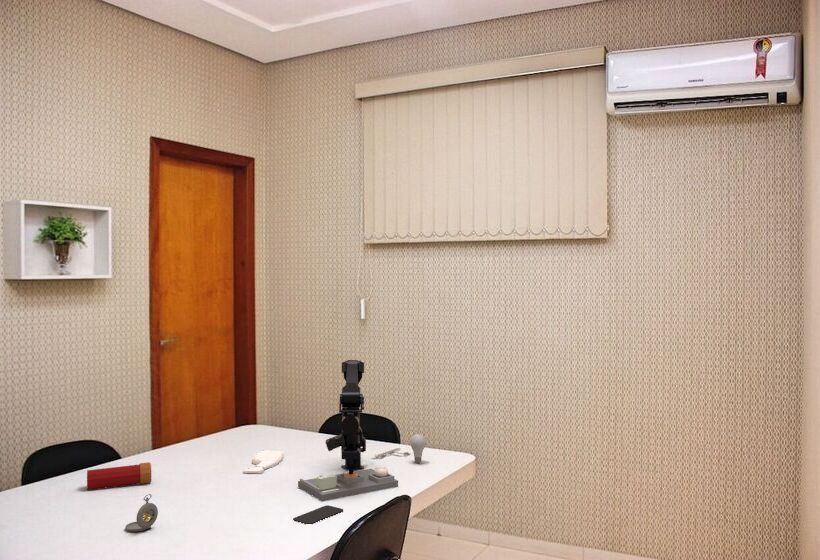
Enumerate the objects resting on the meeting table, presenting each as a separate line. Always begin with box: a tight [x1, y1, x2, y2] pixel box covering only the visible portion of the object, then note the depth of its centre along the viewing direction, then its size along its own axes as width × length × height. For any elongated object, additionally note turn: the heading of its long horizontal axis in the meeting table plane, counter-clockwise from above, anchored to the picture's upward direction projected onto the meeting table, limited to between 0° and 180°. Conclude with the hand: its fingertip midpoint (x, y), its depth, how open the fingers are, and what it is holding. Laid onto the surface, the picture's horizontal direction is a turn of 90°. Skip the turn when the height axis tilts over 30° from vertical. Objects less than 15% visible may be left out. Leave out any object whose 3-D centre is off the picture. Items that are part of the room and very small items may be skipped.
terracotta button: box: [344, 471, 358, 479], centre depth 227 cm, size 5×5×2 cm
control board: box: [297, 468, 399, 502], centre depth 226 cm, size 18×28×4 cm, turn 124°
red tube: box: [86, 461, 152, 491], centre depth 227 cm, size 7×20×7 cm, turn 114°
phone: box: [292, 505, 344, 525], centre depth 198 cm, size 7×1×15 cm
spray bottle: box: [242, 450, 285, 474], centre depth 254 cm, size 3×11×24 cm
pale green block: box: [316, 474, 337, 490], centre depth 218 cm, size 2×6×4 cm, turn 124°
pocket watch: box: [125, 493, 159, 533], centre depth 186 cm, size 8×8×10 cm
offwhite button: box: [374, 466, 389, 477], centre depth 228 cm, size 5×5×2 cm
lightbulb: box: [409, 433, 427, 464], centre depth 257 cm, size 6×6×11 cm
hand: (350, 474), depth 227 cm, fingers closed, pressing on terracotta button
